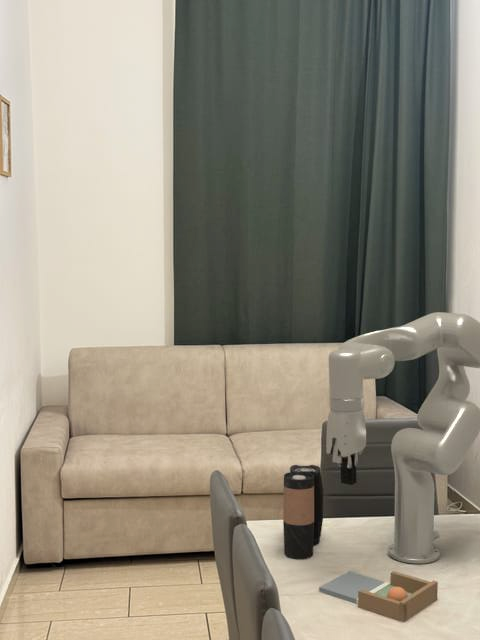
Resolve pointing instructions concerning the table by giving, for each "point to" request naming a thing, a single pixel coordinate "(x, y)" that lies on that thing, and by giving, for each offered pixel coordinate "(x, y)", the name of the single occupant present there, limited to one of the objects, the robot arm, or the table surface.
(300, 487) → the travel mug
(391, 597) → the ball
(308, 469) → the portable speaker
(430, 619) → the table surface
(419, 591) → the lane
